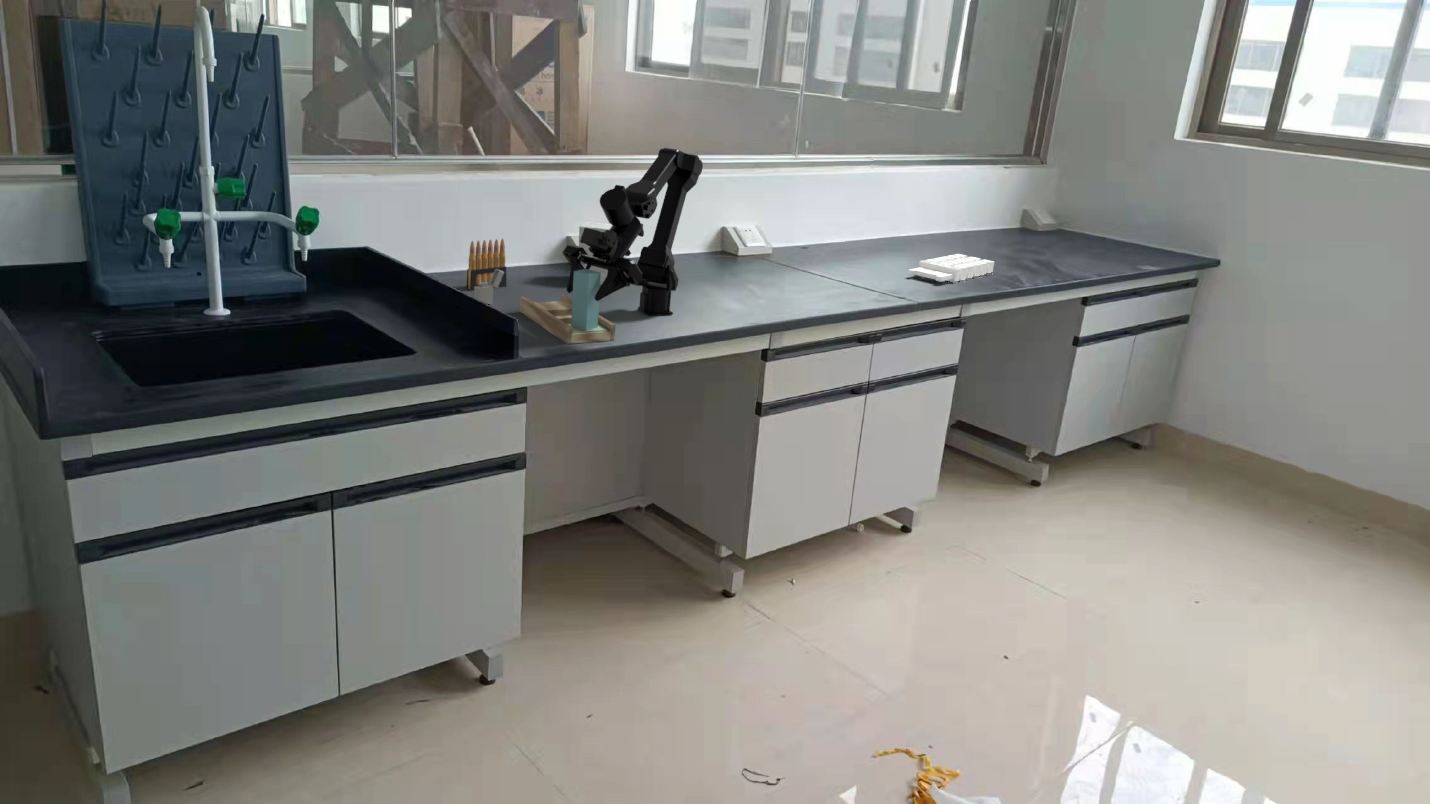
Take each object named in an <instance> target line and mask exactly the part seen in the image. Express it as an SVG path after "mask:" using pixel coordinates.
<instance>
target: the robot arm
mask: <svg viewBox="0 0 1430 804" xmlns="http://www.w3.org/2000/svg"><path fill="white" fill-rule="evenodd" d="M703 165H704V163H703V161H702V160H701V159H700V157H699V155H698V154H691V153H686V152H683V151H681V150H680V149H678V148H677V149H675V148H668V147H663V148H660V149H659V151H658V154H657V157H656V159H655V160H654V161H653V162H652V164H651V165H650V167H649V168H648V169H647V171H646V172H645V173H644V174H643V176H642V177H641V179H640V180H639V181H637V182H633V183H631V184H629V185H628V186H627V187H626V186H624V185H620V184H615V185H614V188H611V189H608V190H606V191H605V192H604V193H603V194H601V195H600V198H599V205H600V208H602V211H603V213H604V216H605V217H606V220H607V221H608V224H611V225H612V227H611V228H610V230H606V231H605V232H600V231H598V230H594V229H589V228H584V231H583V234H582V236H581V239H580V242H581V243H585V244H586V245H588V246H590V247H589V251H590V252H591V253H593V256H589V255H588V254H587V253H586V251H585V250H584V248H583V247H579V245H574V244H567V245H566V247H565V248H564V250H562V252H561V253H562V255H563V256H564V257H565V258H566V260H567V261H568V263H569V265H570V273H569V277H568V281H567V286H566V292H567V293H568V294H571V292H572V293H573V277H574V271H578V270H582V269H590V267H591V266H595V267H599V268H602V269H606V270H608V273H607V277H606V278H605V280H604V282H603V283H602V285H600V288H599V290H598V291H597V293H596V295H595V300H596V301H599V302H600V300H602V299H604V298H606V297H608V296H610V295H611V294H613V293H615V292H617V291H619V290H621V289H624V288H625V287H630V286H631V285H632V286H639V287H642V290H641V292H640V296H639V306H637V310H639V311H640V312H642V313H644V314H645V315H648V316H667V315H669V316H670V315H674V312H673V311H671V296H672V292H673V291H674V292H675V291H677V288H678V285H679V278H678V275H677V273H676V270H675V268H674V267H675V263H676V262H675V259H674V255H673V253H672V248H673V245H674V240H675V236H676V233H677V230H678V228H679V227H678V225H679V222H680V218H681V216H682V211H683V209H684V208H683V207H684V204H685V201H686V198H687V194H688V192H690V191H691V190H692V189H693V188H694V187H695V186H696V185H697V183H698V180H699V177H700V175H701V174H702V171H703ZM666 184H667V186H666V190H665V194H664V198H663V201H662V205H661V208H660V211H659V216H658V218H657V219H658V220H657V223H656V226H655V230H654V234H653V238H652V240H651V243H650V244H649V245H648V246H643V247H642V248H641V251H640V255H639V257H638V258H639V259H638V260H637V263H636V262H635V260H634V259H630V258H626V257H629V256H630V255H631V254H632V252H631V251H630V248H631V246H632V245H633V243H634V242H635V241H636V239H637V237H641V238H642V237H644V235H645V231H644V224H643V223H642V222H641V221H640V218H641V219H646V220H647V219H648V220H649V219H650V218H651V217H652V216H653V215H654V213H655V212H656V210H657V207H658V199H657V197H658V195H660V193H661V191H662V190H663V188H664V187H665V185H666ZM625 187H626V188H625Z"/></svg>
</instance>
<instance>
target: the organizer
mask: <svg viewBox="0 0 1430 804" xmlns="http://www.w3.org/2000/svg"><path fill="white" fill-rule="evenodd" d="M994 266H995V261H993V260H988V259H985V258H984V259H982V258H980V257H975V256H968V255H965V254H961V253H955V254H951V255H946V256H940V257H935V258H928V259H926V260H924V259H923V260H919V261H918V267H915V268H910V269H908V272H907V275H910V276H918V277H922V278H926V279H927V278H928V279H931V280H935V281H936V282H945V280H950V281H959V280H965V279H966V278H972V277H973V276H980V275H984V274H986V273H991V272H994Z"/></svg>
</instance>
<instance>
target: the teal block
mask: <svg viewBox="0 0 1430 804" xmlns="http://www.w3.org/2000/svg"><path fill="white" fill-rule="evenodd" d="M600 277H601V272H597V271H593V270H589V269H582V270H578V271H574V277H573V291H572V297H571V299H572V318H571V327H574V328H578V329H582V330H585V331H587V330H590V329H594V328H597V327H598V315H599V312H600V311H599V307H600V300H599V301H596V300H595V295H596V293H597V291H598V290H599V288H600V287H601V285H600Z"/></svg>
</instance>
